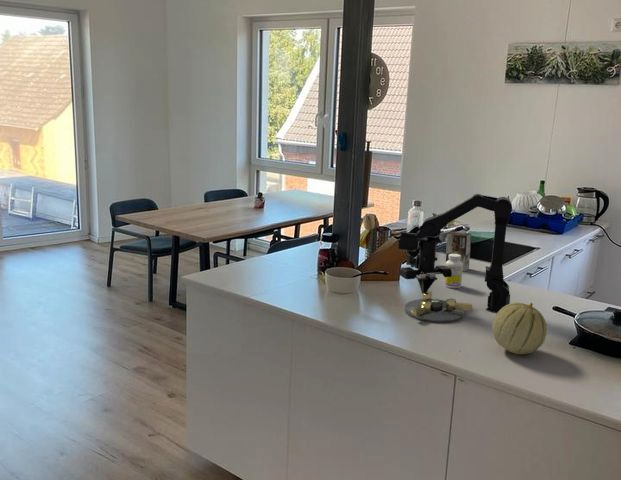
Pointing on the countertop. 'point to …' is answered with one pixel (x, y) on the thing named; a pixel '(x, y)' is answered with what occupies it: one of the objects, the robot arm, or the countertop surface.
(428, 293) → the knob
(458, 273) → the supplement bottle
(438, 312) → the tribrach plate
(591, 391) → the countertop surface
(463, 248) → the coffee box
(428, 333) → the countertop surface
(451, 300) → the knob
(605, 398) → the countertop surface
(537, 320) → the cantaloupe
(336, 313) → the countertop surface
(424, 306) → the knob
